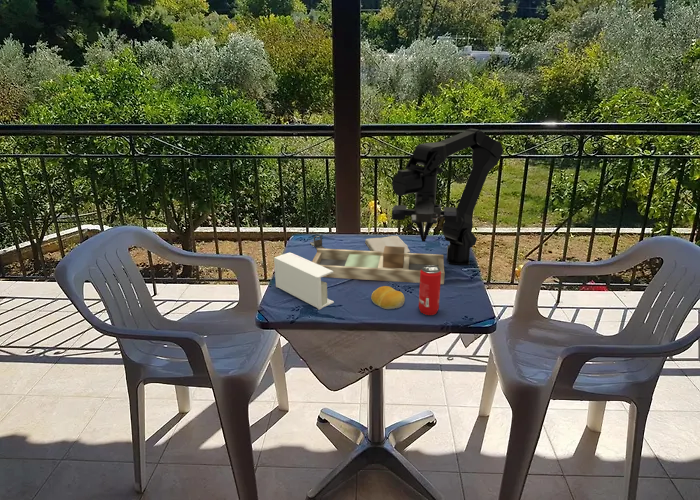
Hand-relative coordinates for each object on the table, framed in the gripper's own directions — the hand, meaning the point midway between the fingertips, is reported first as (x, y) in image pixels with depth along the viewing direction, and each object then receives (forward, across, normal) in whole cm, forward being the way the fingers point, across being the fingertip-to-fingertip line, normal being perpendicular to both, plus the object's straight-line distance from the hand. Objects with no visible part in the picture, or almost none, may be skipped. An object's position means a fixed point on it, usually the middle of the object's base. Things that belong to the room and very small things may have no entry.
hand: (423, 241), depth 150 cm
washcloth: (+11, -12, +17) cm, 23 cm away
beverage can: (+10, +2, -24) cm, 26 cm away
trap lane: (+10, -14, 0) cm, 17 cm away
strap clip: (+11, -36, +17) cm, 41 cm away
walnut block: (+8, -9, 0) cm, 12 cm away
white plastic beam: (+10, -32, -19) cm, 39 cm away
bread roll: (+11, -9, -20) cm, 24 cm away
